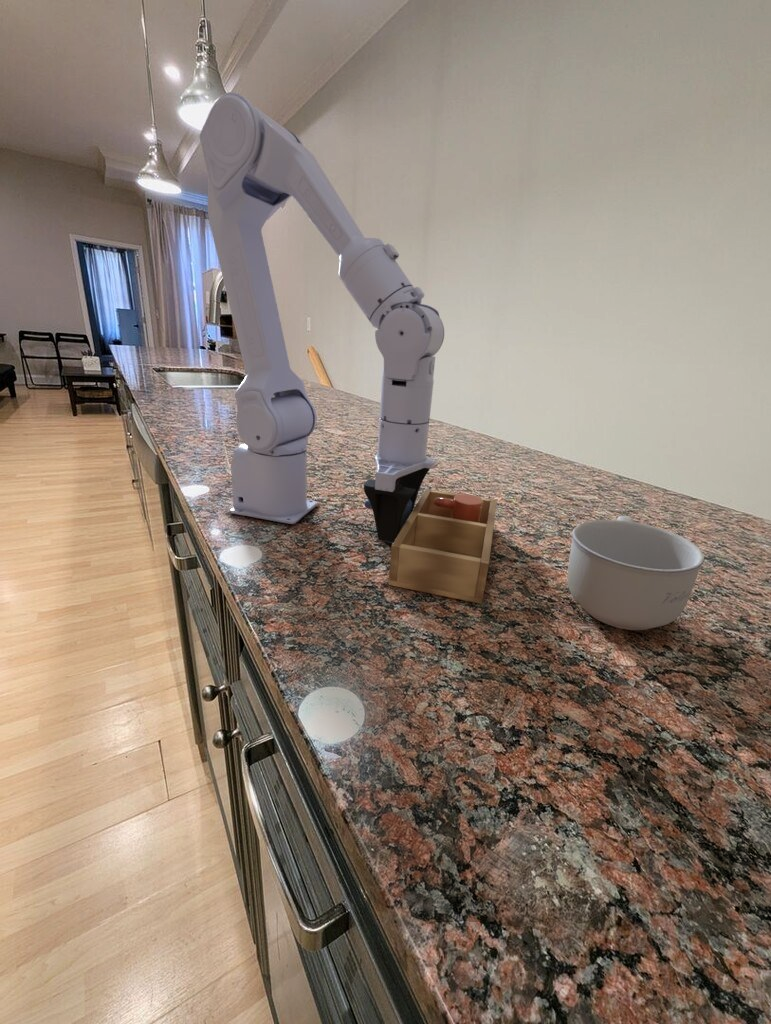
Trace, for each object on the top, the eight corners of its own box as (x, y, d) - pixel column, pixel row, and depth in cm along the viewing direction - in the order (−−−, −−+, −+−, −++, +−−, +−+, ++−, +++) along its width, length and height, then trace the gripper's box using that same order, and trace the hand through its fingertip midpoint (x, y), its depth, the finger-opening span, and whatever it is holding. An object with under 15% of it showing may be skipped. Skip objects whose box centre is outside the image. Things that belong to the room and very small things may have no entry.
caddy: (388, 584, 46) (391, 545, 44) (422, 519, 63) (425, 488, 61) (481, 604, 44) (489, 563, 42) (491, 531, 61) (497, 499, 59)
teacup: (675, 663, 38) (707, 582, 35) (545, 616, 43) (563, 541, 40) (676, 592, 49) (701, 525, 46) (573, 561, 54) (589, 499, 51)
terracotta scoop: (428, 535, 56) (432, 498, 54) (433, 524, 59) (437, 489, 57) (476, 544, 55) (482, 506, 53) (478, 532, 58) (484, 496, 56)
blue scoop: (358, 537, 56) (360, 500, 54) (367, 526, 59) (369, 491, 57) (405, 546, 55) (408, 508, 53) (411, 534, 58) (414, 498, 56)
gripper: (427, 436, 44) (414, 558, 49) (448, 413, 57) (436, 512, 62) (358, 427, 45) (353, 547, 50) (394, 407, 58) (387, 504, 63)
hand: (395, 527), depth 56 cm, fingers open, 7 cm apart
